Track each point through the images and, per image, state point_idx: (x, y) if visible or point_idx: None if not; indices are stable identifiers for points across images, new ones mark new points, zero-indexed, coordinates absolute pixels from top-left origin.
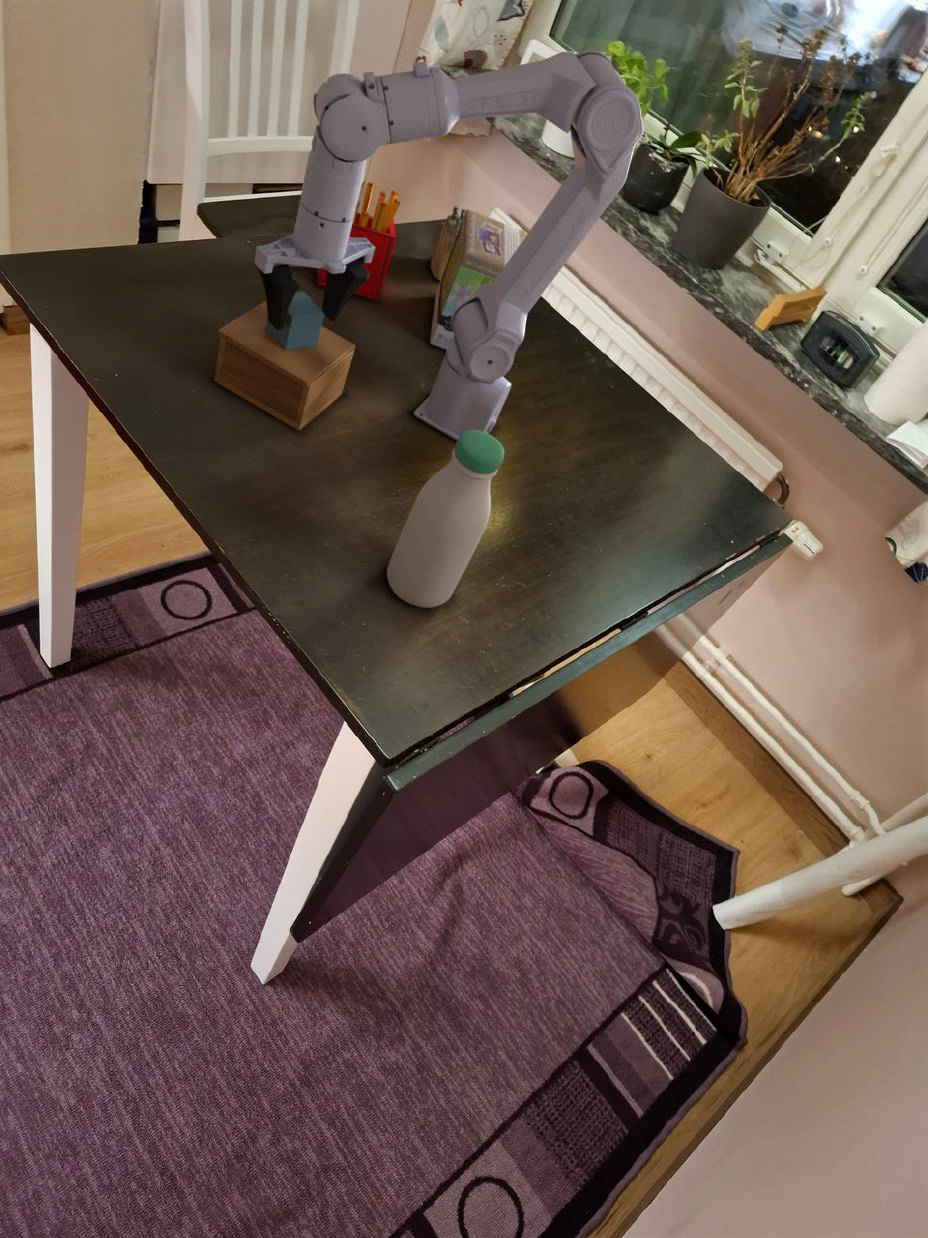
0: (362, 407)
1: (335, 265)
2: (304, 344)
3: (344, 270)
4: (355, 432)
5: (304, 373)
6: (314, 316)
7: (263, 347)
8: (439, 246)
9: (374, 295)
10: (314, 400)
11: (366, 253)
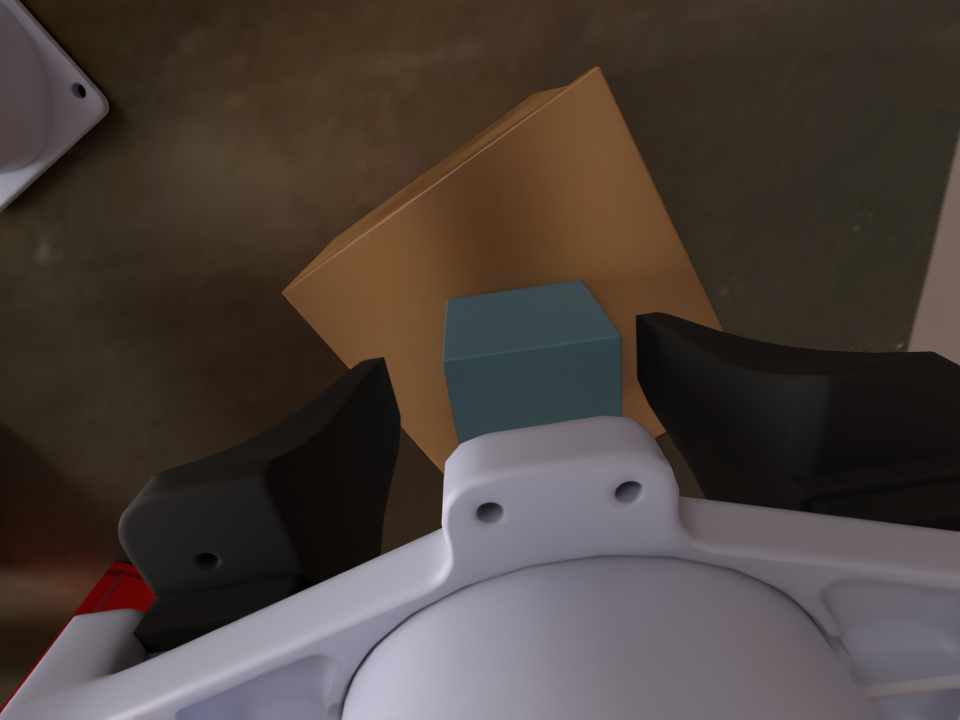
0: (287, 174)
1: (593, 504)
2: (504, 295)
3: (467, 454)
4: (353, 55)
5: (579, 134)
6: (495, 347)
7: (653, 299)
8: None
9: (120, 571)
10: (492, 129)
11: (89, 689)
